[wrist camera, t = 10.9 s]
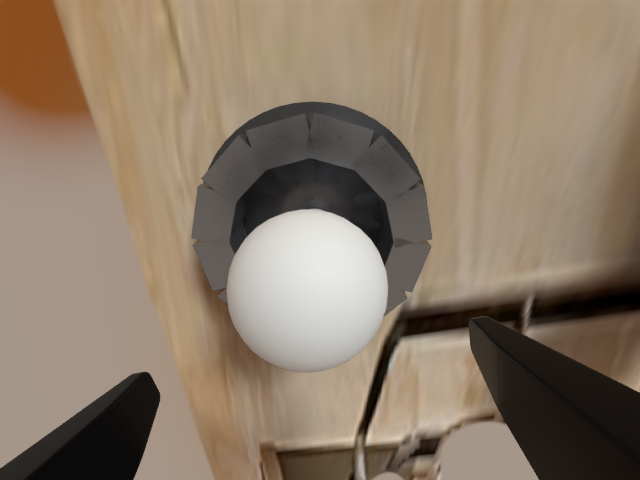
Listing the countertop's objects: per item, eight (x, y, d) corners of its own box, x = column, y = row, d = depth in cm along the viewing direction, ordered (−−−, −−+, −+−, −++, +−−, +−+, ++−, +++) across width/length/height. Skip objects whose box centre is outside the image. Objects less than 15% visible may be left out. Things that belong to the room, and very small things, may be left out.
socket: (436, 287, 23) (458, 321, 19) (248, 328, 24) (235, 367, 20) (402, 71, 18) (422, 59, 14) (170, 140, 19) (132, 146, 16)
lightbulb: (308, 153, 18) (284, 197, 8) (384, 218, 20) (448, 329, 9) (246, 229, 20) (163, 346, 10) (321, 285, 21) (315, 439, 11)
